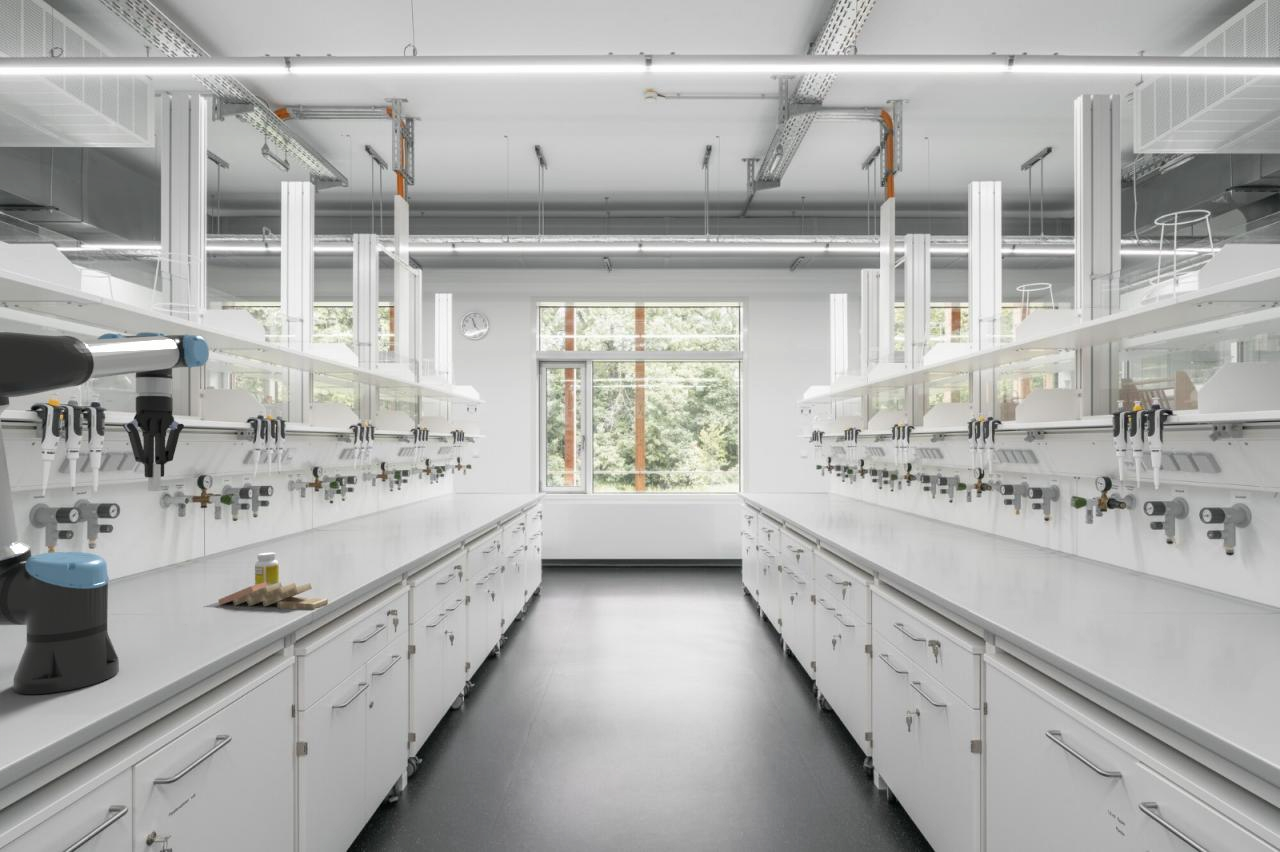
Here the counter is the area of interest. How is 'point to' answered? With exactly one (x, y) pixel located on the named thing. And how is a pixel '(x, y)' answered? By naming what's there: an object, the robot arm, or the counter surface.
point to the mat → (244, 606)
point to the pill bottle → (267, 569)
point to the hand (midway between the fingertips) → (154, 490)
